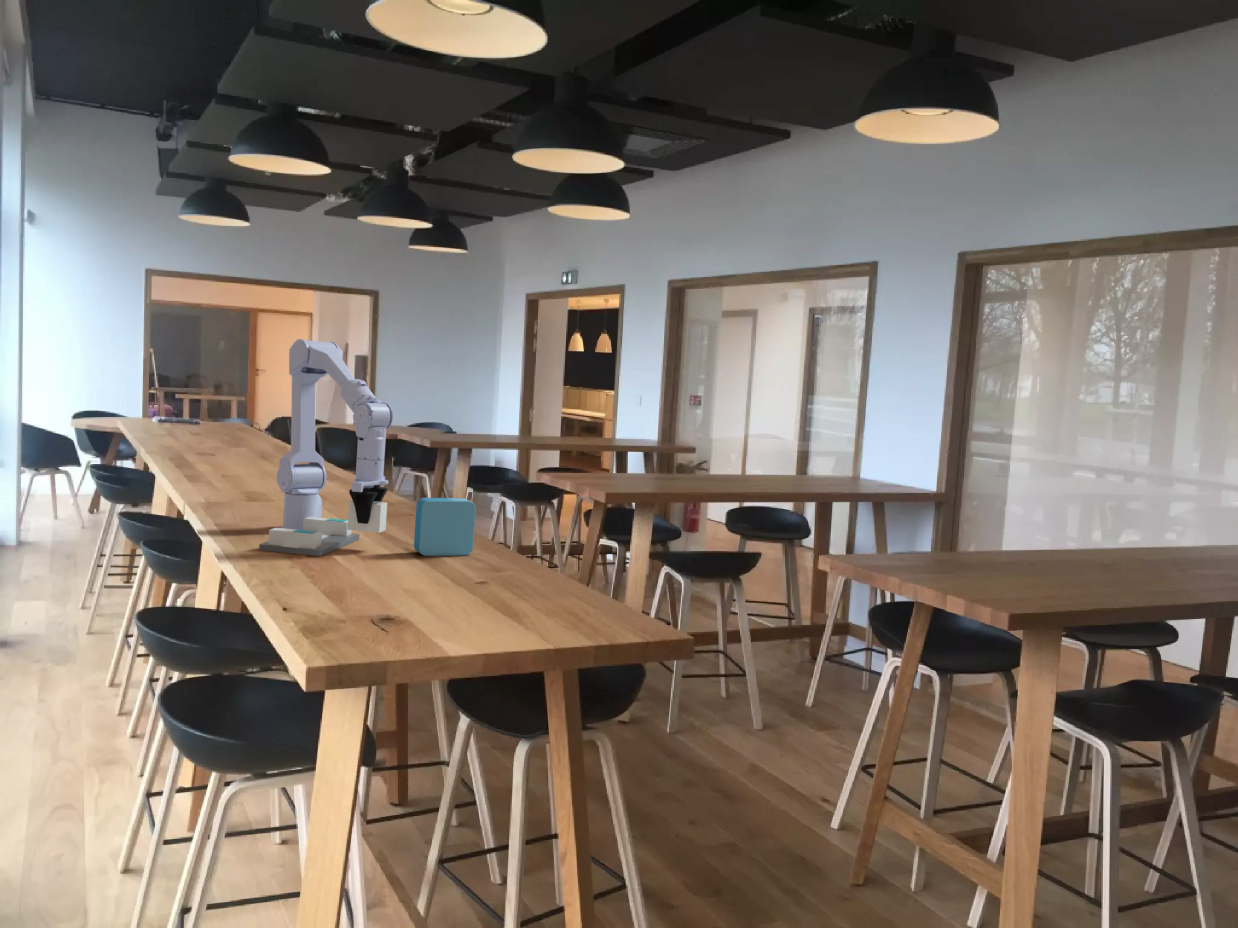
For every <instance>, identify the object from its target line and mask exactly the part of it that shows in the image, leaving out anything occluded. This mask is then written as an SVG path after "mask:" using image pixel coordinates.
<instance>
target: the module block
mask: <svg viewBox="0 0 1238 928" xmlns="http://www.w3.org/2000/svg"><path fill="white" fill-rule="evenodd" d="M387 512H388V502H383V501H382V502H380V501H374V502H373V505H372V508H371V514H370V519H369V522H368V524H363V523H358V521H357V516H356V511H355V506H354V503H353V500H351V501H348V511H347V513H348V514H347V520H348V528H347V530H352V531H357V532H365V533H366V532H367V533H376V534H380V533H382V532H384V531H386V526H387V516H388V515H387Z"/></svg>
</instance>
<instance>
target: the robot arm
mask: <svg viewBox="0 0 1238 928" xmlns="http://www.w3.org/2000/svg"><path fill="white" fill-rule="evenodd" d="M343 355H344V352H343V349H341V348H340V346H339V344H338V343H336V342H334V341H330V342H328V341H317V340H307V339H302V338H298V339H296V340H295V341H294V342H293V344H292V345H291V346H290V348H289V352H288V366H289V367H288V371H289V372H288V374H289V375H290V376H291V412H290V413H291V414H290V415H291V416H290V417H291V421H290V422H291V425H290V426H291V435H290V437H291V438H290V440H291V441H290V443H291V445H290V446H291V448H290V450H289V451H288V452H286V454H285V455H283V456H282V457H281V458H280V459H279V466H278V470H277V473H276V482H277V485H278V487H279V489H280V490H281V493H284V497H283V498H284V499H283V519H282V521H283V522H282V526H281V527H279V528H284V529H294V530H302V529H303V528H304V518H307V517H317V518H322V515H323V514H322V511H323V500H322V498H321V496H320V495H319V494H321V491H322V490H323V489H324V487H325V485H326V483H327V477H328V476H327V471H326V468H325V467H326V466H325V459H324V457H323V456H322V455H320V454H319V453H318V452H317V451H316V396H317V395H316V393H317V392H316V390H317V387H316V385H317V382H319V380H320V379H321V378H324V377H325V376H327V375H328V376H330V378H332V379H333V381H334V383H336V384H337V385H338V387H340V388H341V390H340V397H341V398H342V399H343V400H344V402H345V403H346V404H347V407H348V408H350V410H351V412H352V413H353V414H352V420H353V424H354V426H355V434H356V437H357V448H356V465H355V478H354V481H352V483H351V488H350V489H349V490H348V491H349V496H350V497H351V499H352V500H351V501H353V503H354V506H355V511H356V516H357V521H358V523H363V524H368V522H369V519H370V514H371V508H372V505H373V502H374V501H380V502H383V499H384V497H385V496H386V494H387V492H388V487H383V486H385V485H388V484H389V480H387V479H386V476H385V475H384V469H385V455H386V454H385V453H386V441H387V440H386V438H387V429H389V428H391V425H392V423H393V420H394V416H393V415H394V413H393V410H392V407H391V406H390V404H389V403H388V402H385V401H384V402H383V401H382V400H379V399H377V397H376V396H375V395H374V393H373V392H372V391H371V390H370V388H369V387H368V385H367V383H366V381H365V380H362V379H359V378H355V377H354V376H353V374H352V372H351V371H350V368H348V366H347V364H346V362H345V361H344V359H343V358H344V356H343ZM298 463H299V464H298Z"/></svg>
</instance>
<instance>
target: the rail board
mask: <svg viewBox="0 0 1238 928" xmlns="http://www.w3.org/2000/svg"><path fill="white" fill-rule="evenodd" d="M347 528H348V519H342V518H341V519H339V518H332V517H331V518H324V517H321V518H317V517H307V518H304V528H303V529H302V530H294V529H284V528H280V527H274V528H271V529H268V540H267V541H265V542H262V543H259V544H258V551H266V552H274V553H276V552H277V553H284V554H285V553H287V554H293V555H294V554H295V555H305V556H314V557H315V556H316V557H321V556H323V555H326V554H328V553H331V552H334V551H335V550H338V549H340V548H342V547H345V546H348V545H349V544H352V543H354V542H356V541H358V540H360V533H353V530H347Z"/></svg>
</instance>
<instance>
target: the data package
mask: <svg viewBox="0 0 1238 928" xmlns="http://www.w3.org/2000/svg"><path fill="white" fill-rule="evenodd" d="M414 522H415V523H414V538H413V548H414V549H415V551H416V552H417V553H419V554H420V555H422V556H423V557H440V556H441V557H444V556H447V557H450V556H451V557H452V556H453V557H454V556H459V557H460V556H469V555H470V554H471V553H472V552H473V549H474V538H475V537H474V536H475V524H476V523H475V522H476V505H475V503H474V502H473V501H471V500H469V499H467V498H462V497H453V498H452V497H422V498H420V499H418V501H417V502H416V507H415V521H414Z"/></svg>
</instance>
